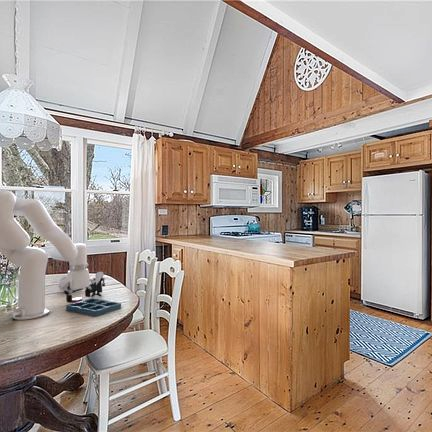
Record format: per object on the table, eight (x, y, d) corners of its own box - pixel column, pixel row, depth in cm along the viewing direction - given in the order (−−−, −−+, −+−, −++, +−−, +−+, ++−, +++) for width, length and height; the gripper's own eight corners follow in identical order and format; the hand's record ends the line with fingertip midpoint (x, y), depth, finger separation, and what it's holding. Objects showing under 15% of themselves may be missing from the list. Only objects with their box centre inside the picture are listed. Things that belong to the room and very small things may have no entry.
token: (75, 306, 156) (75, 300, 156) (69, 304, 158) (69, 299, 158) (84, 303, 160) (84, 298, 160) (78, 302, 162) (78, 297, 162)
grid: (95, 316, 142) (95, 310, 142) (66, 310, 149) (66, 305, 149) (121, 308, 155) (121, 303, 155) (92, 303, 162) (93, 298, 162)
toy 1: (87, 291, 191) (67, 294, 177) (73, 288, 193) (51, 291, 178) (90, 277, 192) (70, 278, 178) (76, 274, 194) (55, 276, 179)
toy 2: (106, 308, 184) (110, 286, 194) (102, 291, 171) (107, 268, 180) (92, 309, 181) (97, 287, 191) (86, 292, 168) (92, 269, 178)
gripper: (89, 263, 169) (89, 294, 169) (56, 270, 153) (56, 303, 153) (98, 265, 166) (99, 295, 167) (66, 271, 150) (66, 305, 151)
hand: (78, 299), depth 160 cm, fingers open, 9 cm apart
